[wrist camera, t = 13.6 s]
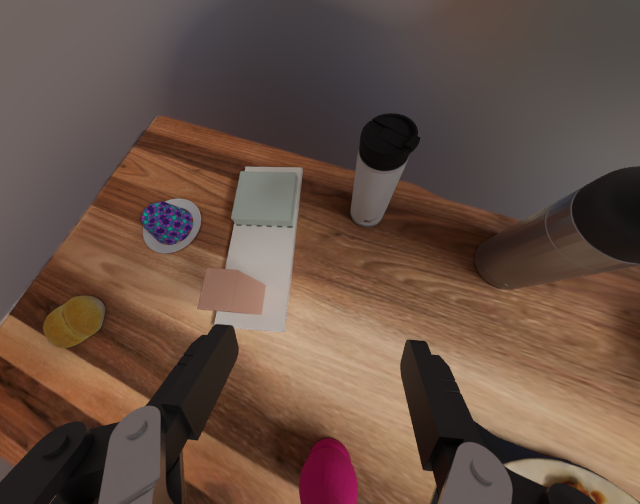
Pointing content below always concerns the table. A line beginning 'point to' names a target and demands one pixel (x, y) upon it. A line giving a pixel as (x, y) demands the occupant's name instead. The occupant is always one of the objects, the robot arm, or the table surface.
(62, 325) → the bread roll
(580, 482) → the plate of glazed chicken
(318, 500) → the pepper mill
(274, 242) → the ticket board
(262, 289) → the stub
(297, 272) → the table surface
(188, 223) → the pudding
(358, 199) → the travel mug
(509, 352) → the table surface
